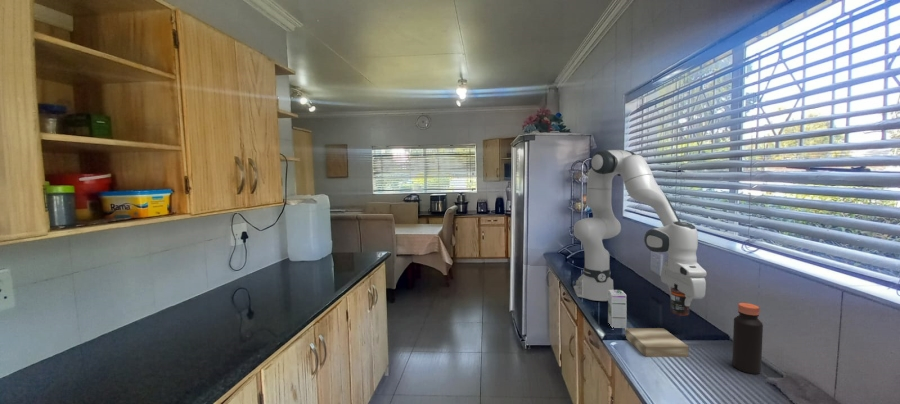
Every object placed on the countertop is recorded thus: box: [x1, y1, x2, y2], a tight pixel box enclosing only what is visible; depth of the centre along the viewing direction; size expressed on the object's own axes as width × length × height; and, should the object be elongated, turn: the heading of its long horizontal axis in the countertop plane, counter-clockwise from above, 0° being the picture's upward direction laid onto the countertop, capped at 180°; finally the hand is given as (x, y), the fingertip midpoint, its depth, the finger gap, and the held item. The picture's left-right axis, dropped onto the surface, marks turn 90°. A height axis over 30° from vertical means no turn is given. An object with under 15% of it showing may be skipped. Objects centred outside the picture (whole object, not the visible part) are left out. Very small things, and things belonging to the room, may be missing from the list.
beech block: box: [624, 327, 690, 358], centre depth 120 cm, size 14×14×4 cm
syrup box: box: [607, 289, 628, 328], centre depth 136 cm, size 6×6×14 cm
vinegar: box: [731, 302, 764, 375], centre depth 105 cm, size 7×7×20 cm
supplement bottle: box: [669, 283, 691, 317], centre depth 127 cm, size 6×6×11 cm
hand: (680, 301), depth 127 cm, fingers closed on supplement bottle, 6 cm apart
